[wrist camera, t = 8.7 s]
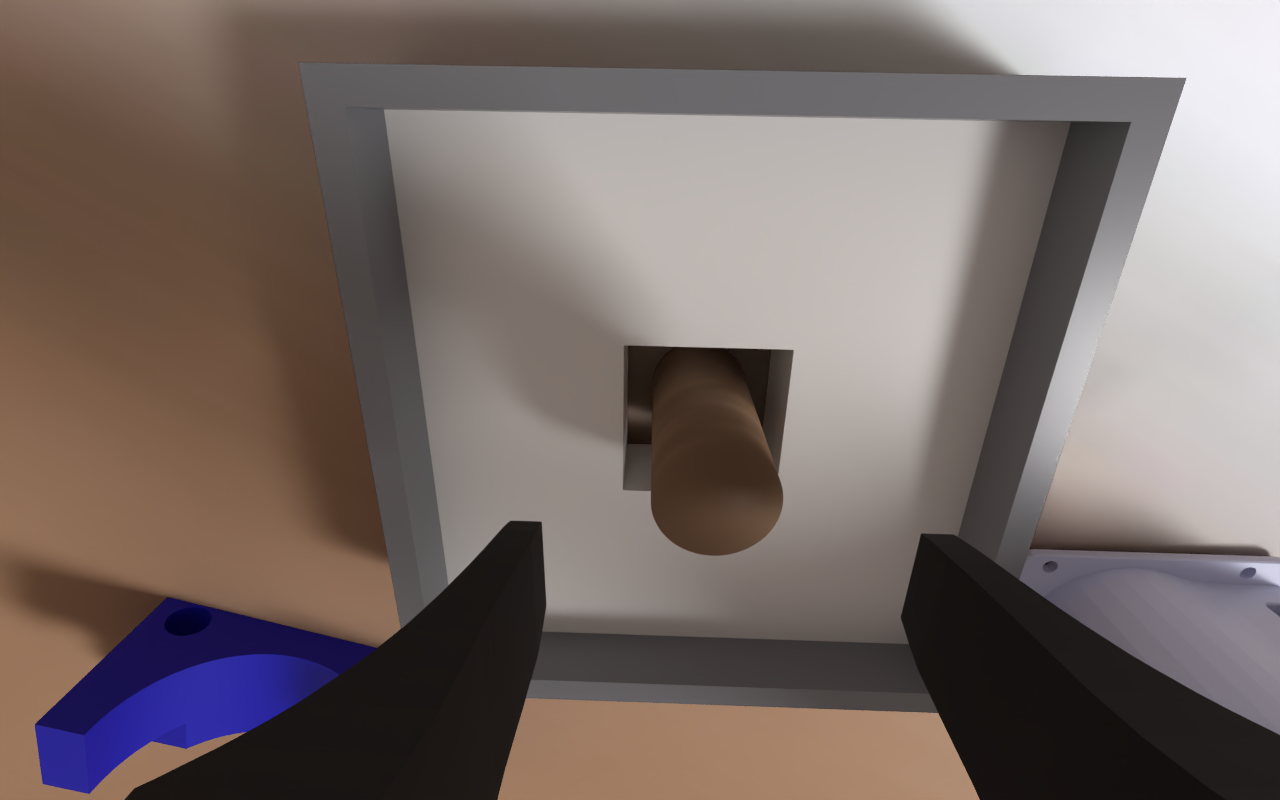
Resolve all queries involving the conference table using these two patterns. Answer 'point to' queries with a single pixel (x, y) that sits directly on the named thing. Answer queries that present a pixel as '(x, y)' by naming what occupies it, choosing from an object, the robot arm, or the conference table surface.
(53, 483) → the conference table surface
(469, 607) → the robot arm
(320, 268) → the conference table surface
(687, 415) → the peg
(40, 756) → the cable clip
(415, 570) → the box
